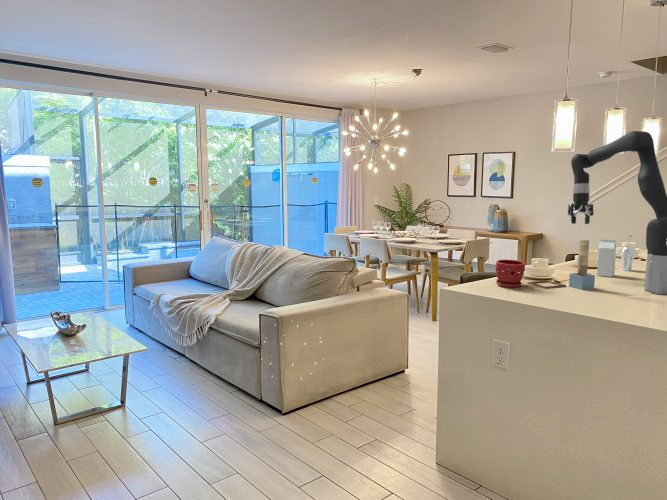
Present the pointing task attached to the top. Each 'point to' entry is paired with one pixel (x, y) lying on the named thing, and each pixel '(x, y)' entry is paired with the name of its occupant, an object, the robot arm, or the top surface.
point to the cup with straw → (627, 257)
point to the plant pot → (509, 273)
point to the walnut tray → (547, 286)
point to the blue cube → (581, 281)
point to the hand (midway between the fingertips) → (580, 223)
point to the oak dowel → (583, 257)
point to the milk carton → (606, 258)
